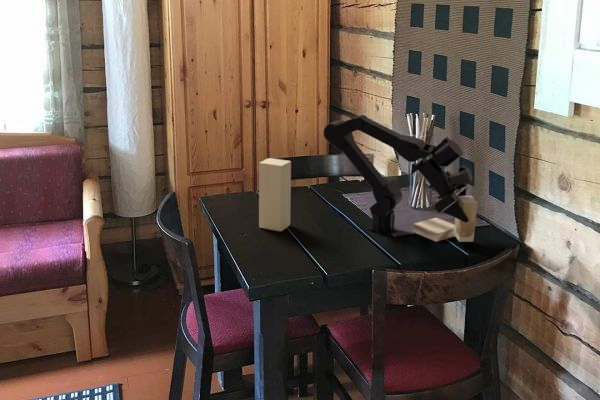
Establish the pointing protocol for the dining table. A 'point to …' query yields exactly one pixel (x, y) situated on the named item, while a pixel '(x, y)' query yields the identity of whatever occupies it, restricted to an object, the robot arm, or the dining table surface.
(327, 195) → the dining table surface
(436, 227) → the birch block
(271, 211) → the beige tall rectangular block
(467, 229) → the skincare box
